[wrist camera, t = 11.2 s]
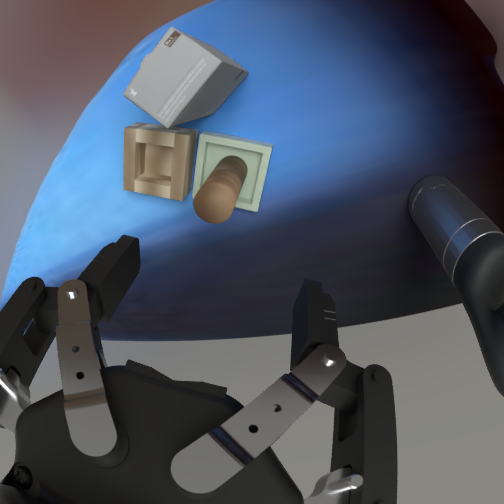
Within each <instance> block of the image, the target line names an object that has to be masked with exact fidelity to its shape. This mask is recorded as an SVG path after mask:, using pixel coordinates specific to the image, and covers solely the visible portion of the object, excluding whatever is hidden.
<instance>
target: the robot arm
mask: <svg viewBox="0 0 504 504" xmlns="http://www.w3.org/2000/svg"><path fill="white" fill-rule="evenodd" d="M408 209H409V213H410V215H411V217H412V219H413V220H414V222H415V223H416V225H417V226H418V228H419V229H420V231H421V232H422V234H423V235H424V237H425V238H426V240H427V242H428V243H429V245H430V246H431V248H432V249H433V251H434V253H435V254H436V256H437V258H438V259H439V261H440V263H441V264H442V266H443V268H444V269H445V271H446V273H447V274H448V276H449V278H450V280H451V282H452V283H453V285H454V287H455V289H456V291H457V293H458V295H459V297H460V299H461V301H462V303H463V305H464V307H465V310H466V312H467V313H468V316H469V318H470V320H471V323H472V326H473V328H474V331H475V334H476V336H477V339H478V342H479V345H480V348H481V351H482V355H483V357H484V360H485V363H486V366H487V369H488V371H489V373H490V376H491V378H492V381H493V383H494V385H495V387H496V388H497V390H498V391H499V392H500V394H501V395H502V396H504V234H503V233H502V232H501V231H500V230H499V228H498V227H497V226H496V225H495V224H494V223H493V222H492V221H491V220H490V219H489V218H488V217H487V216H486V215H485V214H484V213H483V212H482V211H481V210H480V209H479V208H478V207H477V206H476V205H475V204H474V203H473V202H472V201H471V200H469V199H468V198H467V197H466V196H465V195H464V194H463V193H462V192H461V191H460V190H459V189H458V188H456V187H455V186H454V185H453V184H452V183H451V182H449V181H448V180H447V179H446V178H444V177H442V176H438V175H431V176H428V177H425V178H423V179H422V180H420V181H419V182H418V183H417V184H416V185H415V187H414V188H413V190H412V191H411V193H410V197H409V201H408ZM139 270H140V248H139V239H138V238H135V237H131V236H127V235H122V236H121V238H120V239H119V240H118V241H117V242H116V243H113V242H112V243H110V244H109V245H107V246H105V247H104V248H103V249H102V250H101V251H100V252H99V253H98V255H97V256H96V257H95V258H94V259H93V261H92V262H91V263H90V264H89V265H88V266H87V268H86V269H85V270H84V271H83V272H82V274H81V275H80V276H79V277H78V279H72V280H68V281H66V282H64V283H63V284H62V285H61V286H60V287H45V284H44V282H43V280H42V279H41V278H39V277H31V278H28V279H26V280H25V281H23V282H22V284H21V285H20V286H19V287H18V289H17V290H16V291H15V293H14V294H13V295H12V297H11V298H10V299H9V301H8V302H7V303H6V305H5V306H4V307H3V309H2V310H1V312H0V427H1V428H7V429H8V430H10V431H11V432H13V433H14V434H15V438H16V454H15V462H14V465H13V467H12V469H11V470H10V471H9V473H8V474H7V475H6V476H5V478H4V479H3V480H2V481H1V482H0V504H396V503H397V502H396V501H397V436H396V435H397V434H396V418H395V405H394V394H393V385H392V379H391V375H390V373H389V372H388V371H387V370H386V369H385V368H384V367H382V366H380V365H377V364H372V365H369V366H368V367H366V368H365V369H364V368H362V367H359V366H357V365H355V364H352V363H351V362H349V361H348V360H346V356H345V354H344V352H343V351H342V350H341V349H340V348H339V341H338V331H337V321H336V314H335V303H334V302H333V300H332V298H331V296H330V295H329V294H325V293H323V292H322V283H321V281H317V280H312V279H308V278H305V280H304V282H303V284H302V287H301V289H300V292H299V294H298V297H297V299H296V301H295V305H294V309H293V322H292V347H291V365H290V371H291V372H290V373H289V374H284V375H283V376H282V377H280V378H279V379H278V380H277V381H276V382H274V383H273V384H272V385H271V386H270V387H269V388H267V389H266V390H265V391H264V392H263V393H261V394H260V395H259V396H258V397H256V398H255V399H254V400H253V401H252V402H250V403H249V404H248V405H247V406H245V407H244V406H243V405H242V404H241V403H240V402H238V401H237V400H236V399H234V398H232V397H231V396H229V395H227V394H226V392H227V388H226V387H221V386H217V385H213V384H209V383H205V382H194V381H175V380H172V379H170V378H169V377H167V376H165V375H163V374H162V373H160V372H158V371H157V370H155V369H153V368H152V367H149V366H146V365H143V364H140V363H137V362H134V361H132V360H128V361H127V363H126V365H125V366H110V367H107V364H106V360H105V357H104V353H103V348H102V344H101V339H100V335H99V330H98V326H97V324H98V323H99V321H100V320H102V321H105V322H109V320H110V319H111V317H112V315H113V314H114V312H115V310H116V309H117V307H118V305H119V304H120V302H121V300H122V299H123V297H124V296H125V294H126V292H127V291H128V289H129V288H130V286H131V284H132V283H133V281H134V280H135V278H136V277H137V275H138V273H139ZM31 320H32V323H31V325H30V326H29V328H28V329H27V331H26V333H25V334H24V331H25V329H26V327H27V326H28V324H29V323H30V321H31ZM23 335H24V336H23ZM55 336H56V340H57V350H58V359H59V367H60V374H61V380H62V386H63V389H61V390H60V391H57V392H55V393H53V394H51V395H50V396H48V397H45V398H43V399H42V400H40V401H38V402H36V403H33V404H31V403H30V391H29V386H30V384H31V382H32V380H33V378H34V375H35V374H36V372H37V370H38V368H39V366H40V364H41V362H42V360H43V358H44V356H45V354H46V352H47V350H48V348H49V347H50V345H51V343H52V341H53V340H54V338H55ZM316 400H318V401H320V402H322V403H324V404H327V405H329V406H331V407H334V408H335V413H334V431H333V445H332V458H331V469H330V473H329V474H326V475H324V476H322V477H321V478H320V479H319V480H318V481H317V483H316V485H315V488H314V491H313V493H312V494H311V495H310V496H309V497H308V498H306V499H303V496H302V494H301V492H300V490H299V489H298V487H297V486H296V484H295V483H294V481H293V480H292V478H291V477H290V475H289V474H288V473H287V471H286V470H285V468H284V467H283V465H282V464H281V462H280V461H279V459H278V458H277V456H276V454H275V453H274V451H273V450H272V449H271V447H270V446H271V445H272V444H273V443H274V442H275V441H276V440H277V439H279V438H280V436H282V435H283V434H284V433H285V432H286V431H287V430H288V429H289V428H290V427H291V426H292V425H293V424H294V423H295V422H296V421H297V420H298V419H299V418H300V417H301V416H302V415H303V414H304V413H305V412H306V411H307V410H308V409H309V408H310V407H311V406H312V404H313V403H314V402H315V401H316ZM30 404H31V405H30Z"/></svg>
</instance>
